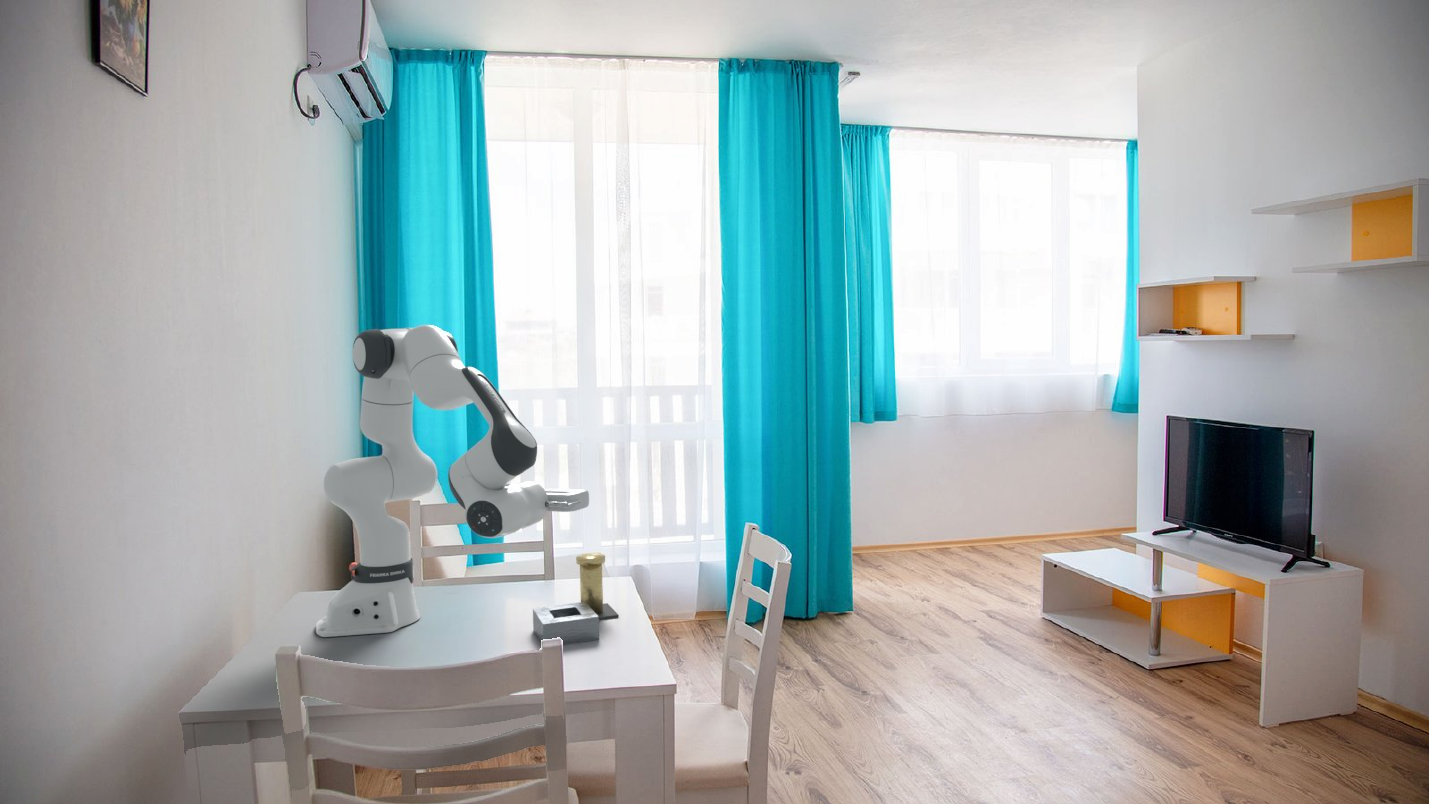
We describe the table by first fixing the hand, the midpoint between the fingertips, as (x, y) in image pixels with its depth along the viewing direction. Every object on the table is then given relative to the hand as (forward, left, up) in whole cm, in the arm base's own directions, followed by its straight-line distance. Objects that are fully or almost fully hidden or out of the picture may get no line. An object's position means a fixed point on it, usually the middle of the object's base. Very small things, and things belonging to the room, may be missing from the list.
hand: (556, 492), depth 182 cm
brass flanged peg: (+10, +13, -31) cm, 36 cm away
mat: (+10, +13, -32) cm, 36 cm away
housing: (+1, +1, -32) cm, 32 cm away
